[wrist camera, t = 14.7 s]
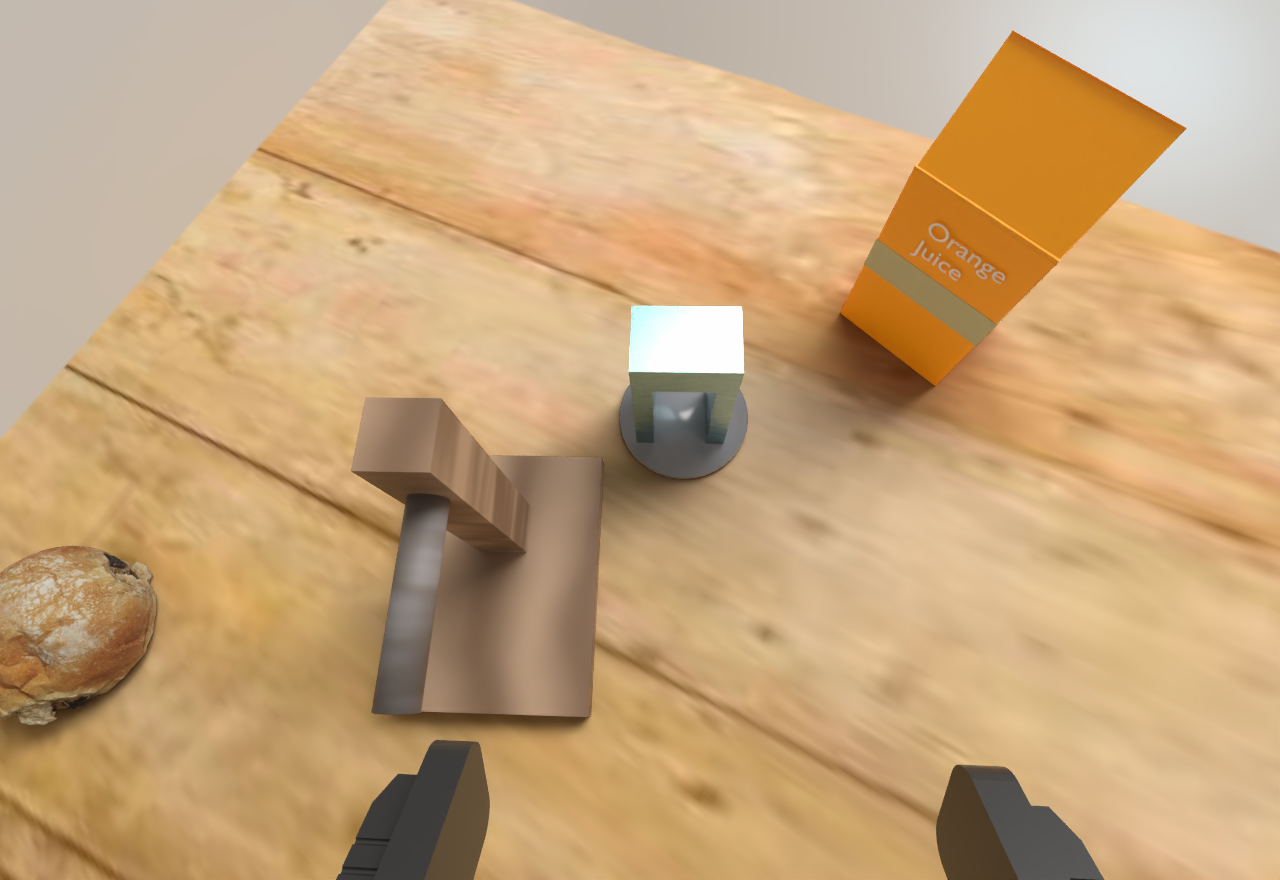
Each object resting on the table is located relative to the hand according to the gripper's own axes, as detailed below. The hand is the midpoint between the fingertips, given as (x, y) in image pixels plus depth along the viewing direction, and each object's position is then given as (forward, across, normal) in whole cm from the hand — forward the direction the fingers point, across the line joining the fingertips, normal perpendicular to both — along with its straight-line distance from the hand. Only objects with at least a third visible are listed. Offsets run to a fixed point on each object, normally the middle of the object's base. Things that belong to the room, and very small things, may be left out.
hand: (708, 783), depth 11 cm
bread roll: (+22, +39, +18) cm, 48 cm away
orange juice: (+40, -17, +2) cm, 43 cm away
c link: (+33, 0, +7) cm, 33 cm away
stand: (+25, +12, +15) cm, 31 cm away
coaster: (+33, 0, +7) cm, 34 cm away
